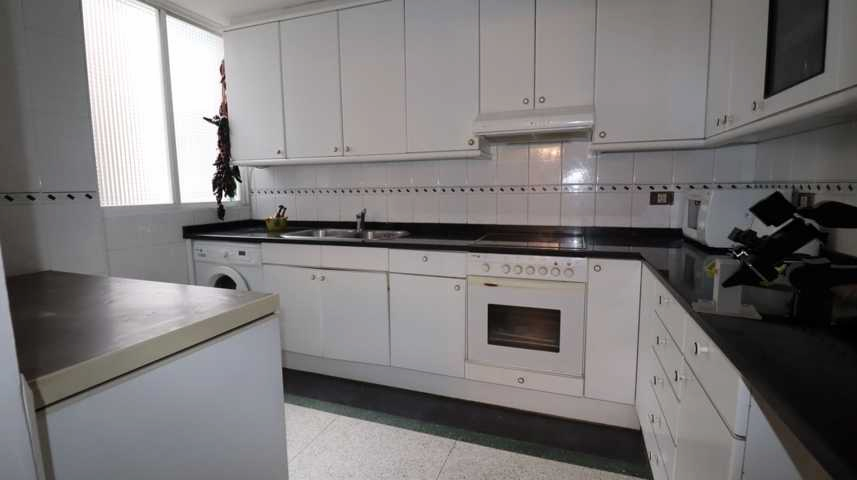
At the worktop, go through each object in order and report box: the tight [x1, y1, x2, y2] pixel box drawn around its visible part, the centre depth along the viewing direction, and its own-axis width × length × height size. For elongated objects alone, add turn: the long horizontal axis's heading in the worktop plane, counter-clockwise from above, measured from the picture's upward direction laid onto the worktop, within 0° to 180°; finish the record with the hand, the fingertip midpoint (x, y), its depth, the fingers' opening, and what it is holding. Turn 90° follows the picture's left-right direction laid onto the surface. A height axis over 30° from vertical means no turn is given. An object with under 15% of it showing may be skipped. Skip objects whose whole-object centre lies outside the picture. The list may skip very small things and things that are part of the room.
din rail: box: [691, 298, 763, 320], centre depth 99 cm, size 13×7×2 cm, turn 62°
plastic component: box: [705, 257, 788, 287], centre depth 128 cm, size 20×7×10 cm
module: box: [712, 258, 743, 314], centre depth 98 cm, size 5×7×12 cm
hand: (720, 283), depth 99 cm, fingers closed on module, 6 cm apart
